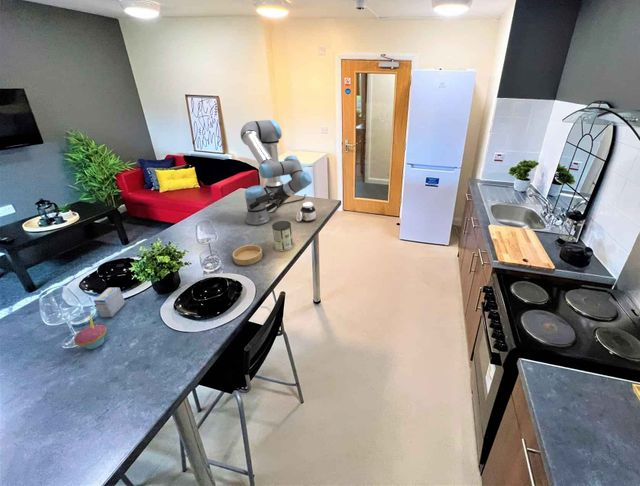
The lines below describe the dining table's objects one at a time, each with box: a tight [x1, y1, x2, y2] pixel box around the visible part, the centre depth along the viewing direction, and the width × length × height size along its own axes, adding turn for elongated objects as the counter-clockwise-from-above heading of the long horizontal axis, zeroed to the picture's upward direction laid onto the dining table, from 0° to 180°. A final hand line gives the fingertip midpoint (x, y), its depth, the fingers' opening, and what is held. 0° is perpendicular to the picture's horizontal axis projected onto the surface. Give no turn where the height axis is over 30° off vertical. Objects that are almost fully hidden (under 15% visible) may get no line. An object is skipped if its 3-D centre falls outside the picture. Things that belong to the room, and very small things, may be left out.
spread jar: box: [295, 201, 317, 223], centre depth 196 cm, size 12×11×12 cm
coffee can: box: [271, 220, 294, 252], centre depth 163 cm, size 10×10×14 cm
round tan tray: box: [231, 244, 263, 266], centre depth 155 cm, size 15×15×4 cm
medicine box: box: [93, 287, 126, 318], centre depth 116 cm, size 8×4×9 cm, turn 5°
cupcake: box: [73, 314, 108, 350], centre depth 101 cm, size 9×8×12 cm
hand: (258, 208), depth 166 cm, fingers open, 13 cm apart
